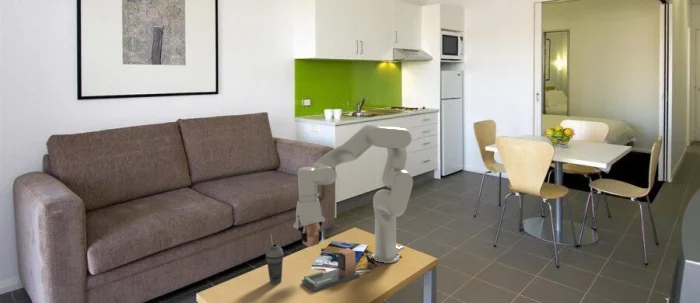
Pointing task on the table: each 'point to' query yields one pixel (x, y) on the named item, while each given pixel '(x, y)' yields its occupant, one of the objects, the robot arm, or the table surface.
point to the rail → (334, 272)
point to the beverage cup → (274, 263)
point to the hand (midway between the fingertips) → (310, 239)
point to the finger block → (312, 235)
